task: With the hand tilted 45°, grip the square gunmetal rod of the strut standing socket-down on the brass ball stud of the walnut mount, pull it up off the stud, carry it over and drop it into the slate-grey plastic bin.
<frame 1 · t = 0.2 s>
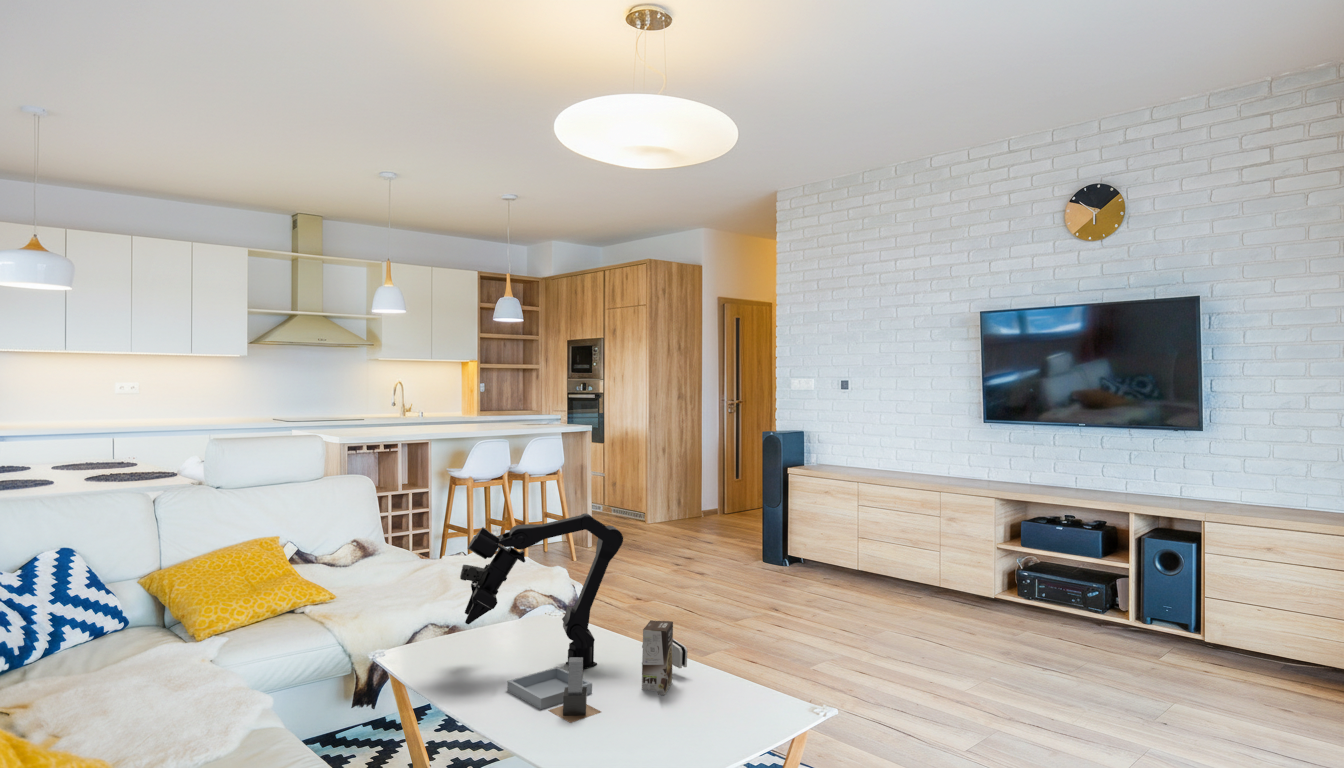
hand: (466, 618, 205), 15 cm above the table, tool tilted 35°, fingers open, 9 cm apart
bin: (549, 696, 192), on the table
strut: (575, 711, 180), point 1 cm above the table, touching stud mount
bracket: (646, 642, 216), point 6 cm above the table
stud mount: (574, 715, 180), on the table
coffee box: (657, 688, 198), on the table
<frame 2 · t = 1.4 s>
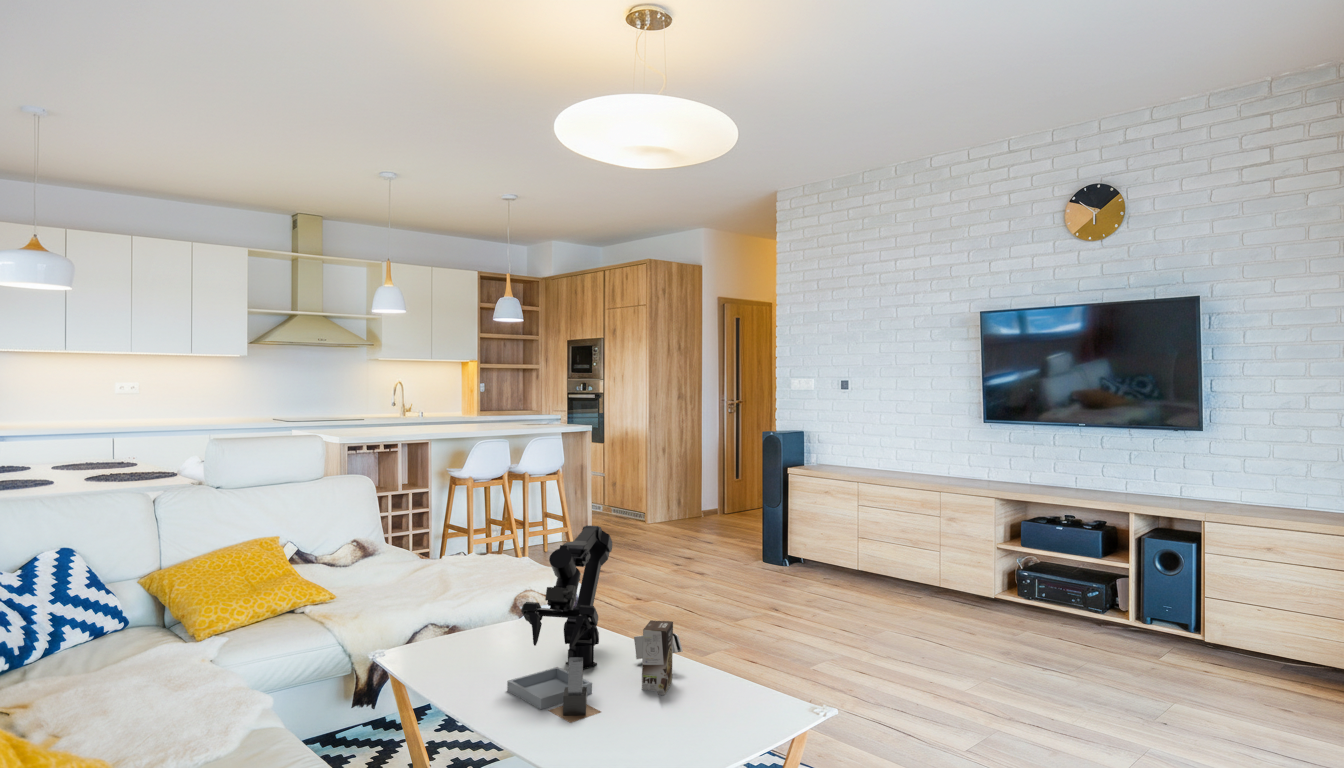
hand: (552, 646, 188), 14 cm above the table, tool tilted 45°, fingers open, 9 cm apart
bracket: (639, 654, 216), point 2 cm above the table
everything else where it was.
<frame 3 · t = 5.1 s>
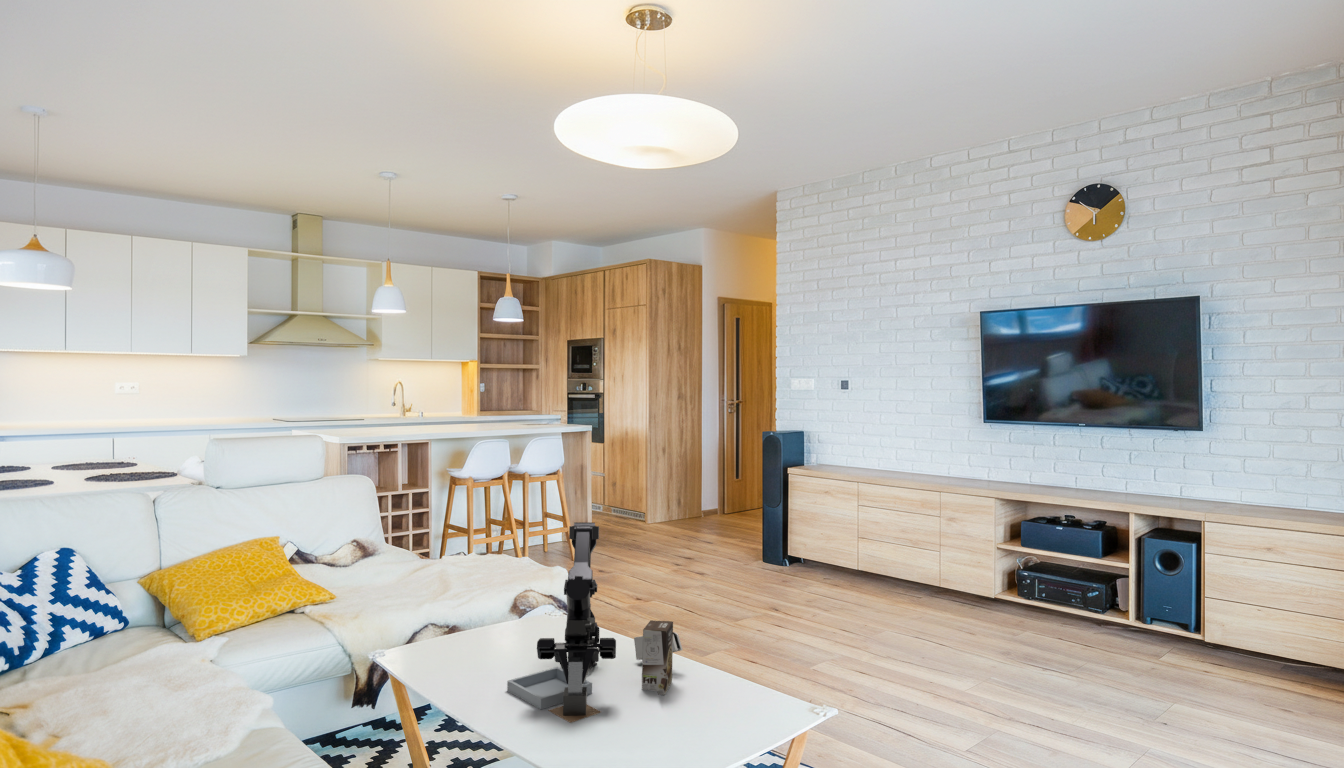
hand: (575, 683, 179), 8 cm above the table, tool tilted 45°, fingers closed on strut, 3 cm apart
strut: (575, 711, 180), point 1 cm above the table, touching gripper, stud mount
when the fingers open (9 cm above the table, at t = 10.0 s): strut drops 1 cm, resting on bin.
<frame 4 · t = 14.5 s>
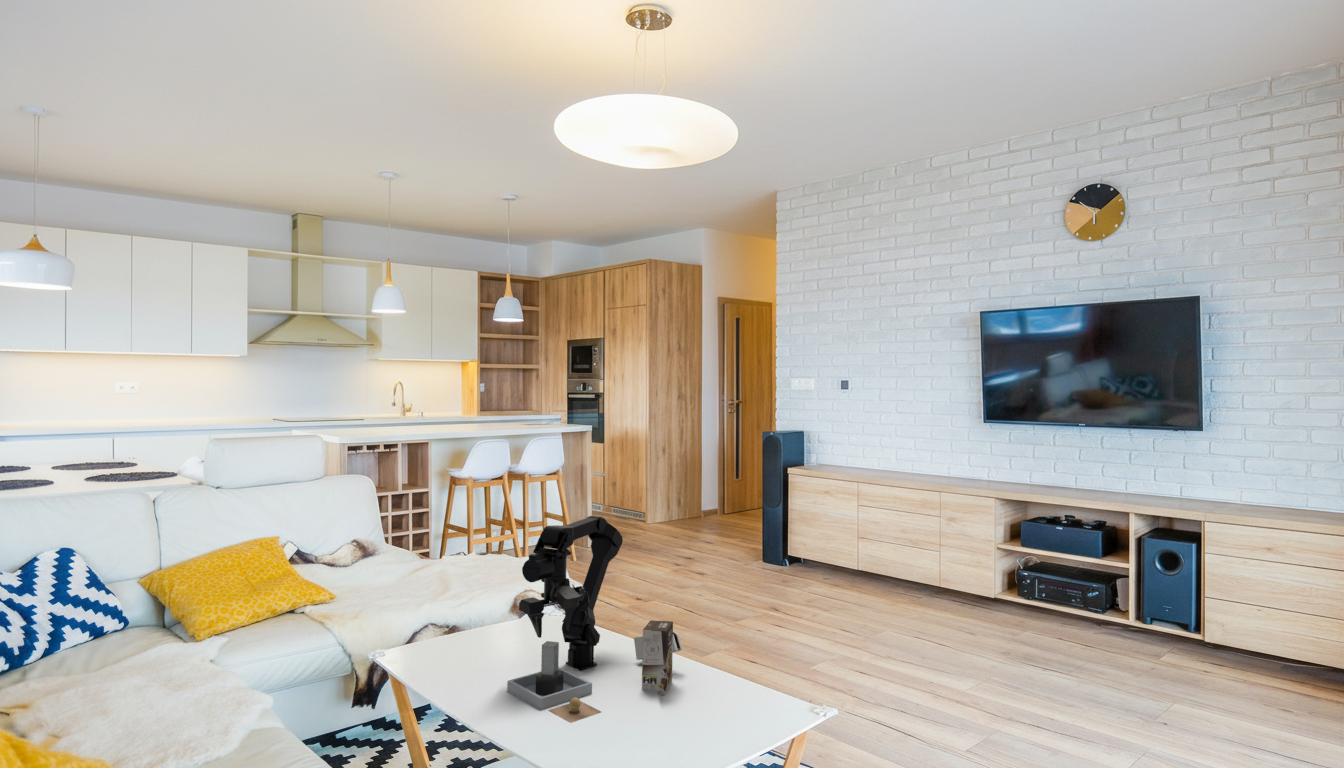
hand: (554, 633, 203), 12 cm above the table, tool pointing down, fingers open, 9 cm apart
strut: (549, 692, 192), point 1 cm above the table, touching bin
everything else where it was.
at the end: strut inside the target area on the bin (0.0 cm from its centre), point 1.0 cm above the bin's base; the gripper is holding nothing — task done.
